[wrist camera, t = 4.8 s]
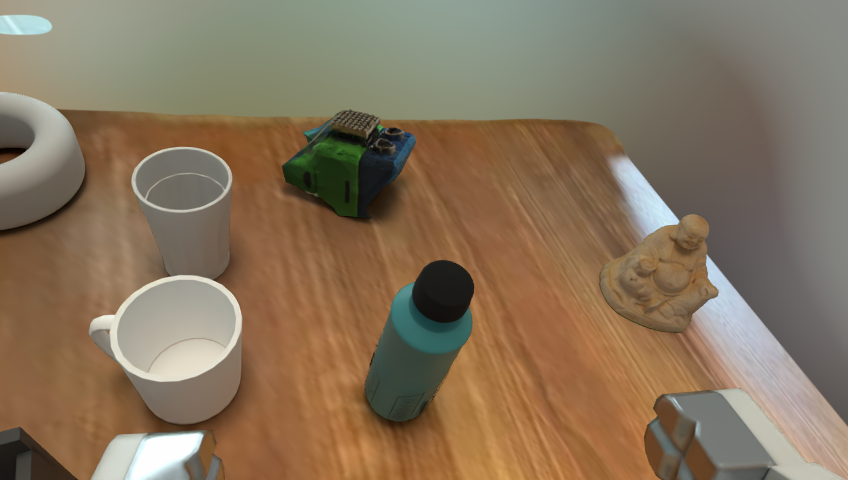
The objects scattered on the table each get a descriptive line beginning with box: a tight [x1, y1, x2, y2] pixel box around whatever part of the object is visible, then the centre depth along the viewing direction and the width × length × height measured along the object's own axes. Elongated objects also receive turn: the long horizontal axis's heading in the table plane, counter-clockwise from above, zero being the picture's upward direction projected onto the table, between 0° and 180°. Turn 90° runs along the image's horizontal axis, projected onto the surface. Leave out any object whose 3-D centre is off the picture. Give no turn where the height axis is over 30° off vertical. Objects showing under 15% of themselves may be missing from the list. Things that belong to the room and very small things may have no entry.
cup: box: [132, 147, 232, 280], centre depth 49 cm, size 8×8×12 cm
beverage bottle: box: [364, 260, 474, 422], centre depth 42 cm, size 6×7×20 cm
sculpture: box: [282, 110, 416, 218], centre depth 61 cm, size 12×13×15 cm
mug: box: [89, 275, 242, 425], centre depth 42 cm, size 11×9×10 cm
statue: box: [600, 215, 719, 332], centre depth 62 cm, size 12×14×10 cm
